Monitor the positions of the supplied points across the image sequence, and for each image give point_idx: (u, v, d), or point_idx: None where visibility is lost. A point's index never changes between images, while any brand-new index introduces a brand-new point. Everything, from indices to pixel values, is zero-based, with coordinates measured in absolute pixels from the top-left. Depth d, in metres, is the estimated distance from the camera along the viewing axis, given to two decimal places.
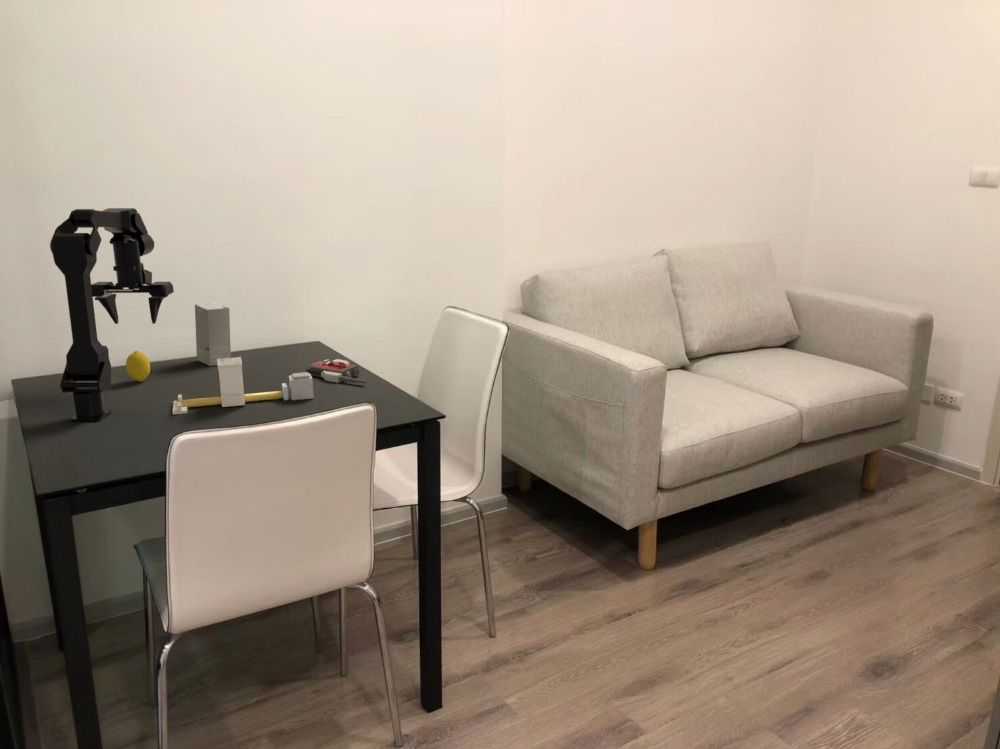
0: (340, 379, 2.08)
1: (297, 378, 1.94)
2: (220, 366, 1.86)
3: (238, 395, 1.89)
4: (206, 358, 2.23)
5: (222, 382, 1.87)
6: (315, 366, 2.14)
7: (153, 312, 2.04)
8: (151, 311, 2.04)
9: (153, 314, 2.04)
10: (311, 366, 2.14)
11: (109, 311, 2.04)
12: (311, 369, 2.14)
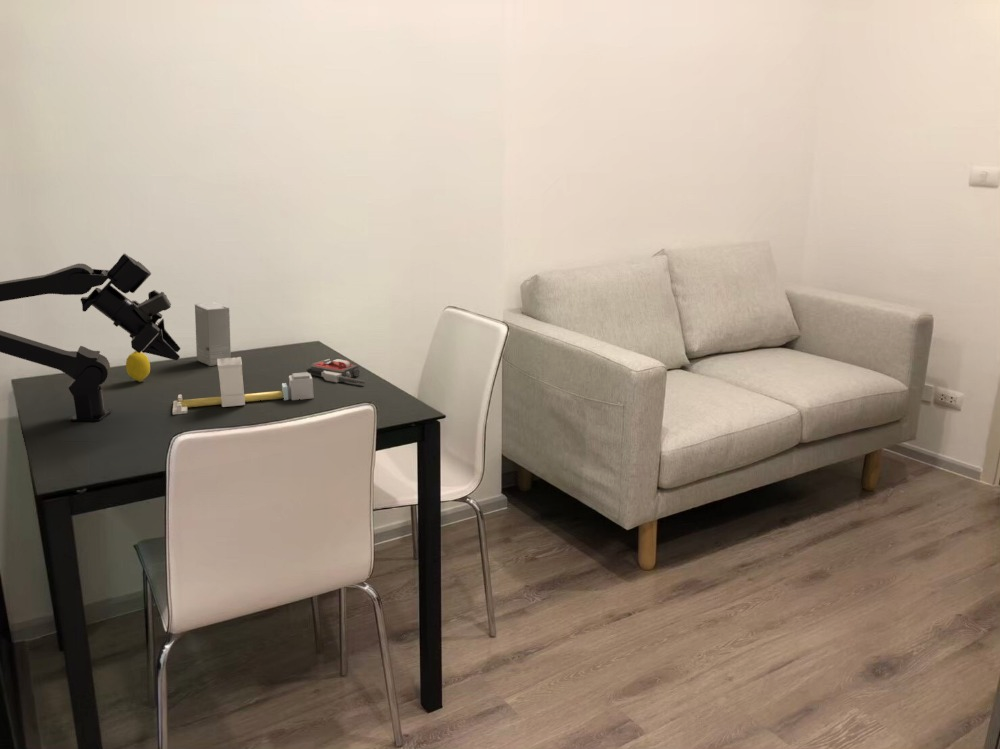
0: (340, 379, 2.08)
1: (297, 378, 1.94)
2: (220, 366, 1.86)
3: (238, 395, 1.89)
4: (206, 358, 2.23)
5: (222, 382, 1.87)
6: (316, 366, 2.14)
7: None
8: None
9: None
10: (312, 366, 2.15)
11: None
12: (312, 369, 2.15)
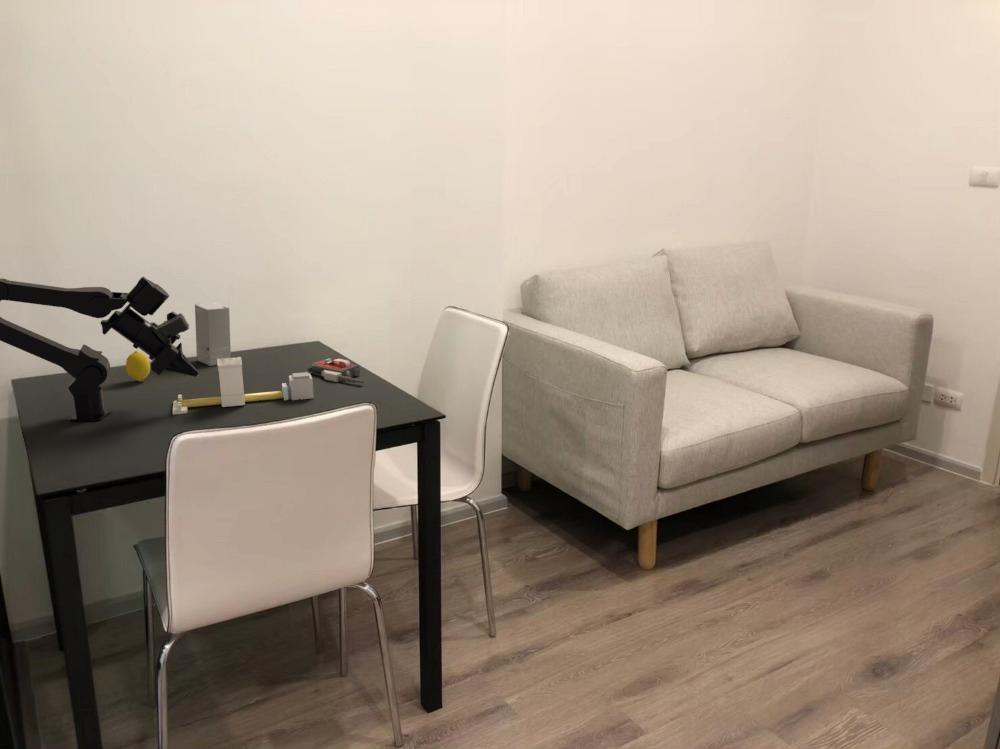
0: (339, 378, 2.09)
1: (297, 378, 1.94)
2: (220, 366, 1.86)
3: (238, 395, 1.89)
4: (206, 358, 2.23)
5: (222, 382, 1.87)
6: (316, 365, 2.15)
7: None
8: None
9: None
10: (313, 365, 2.15)
11: None
12: (313, 368, 2.15)
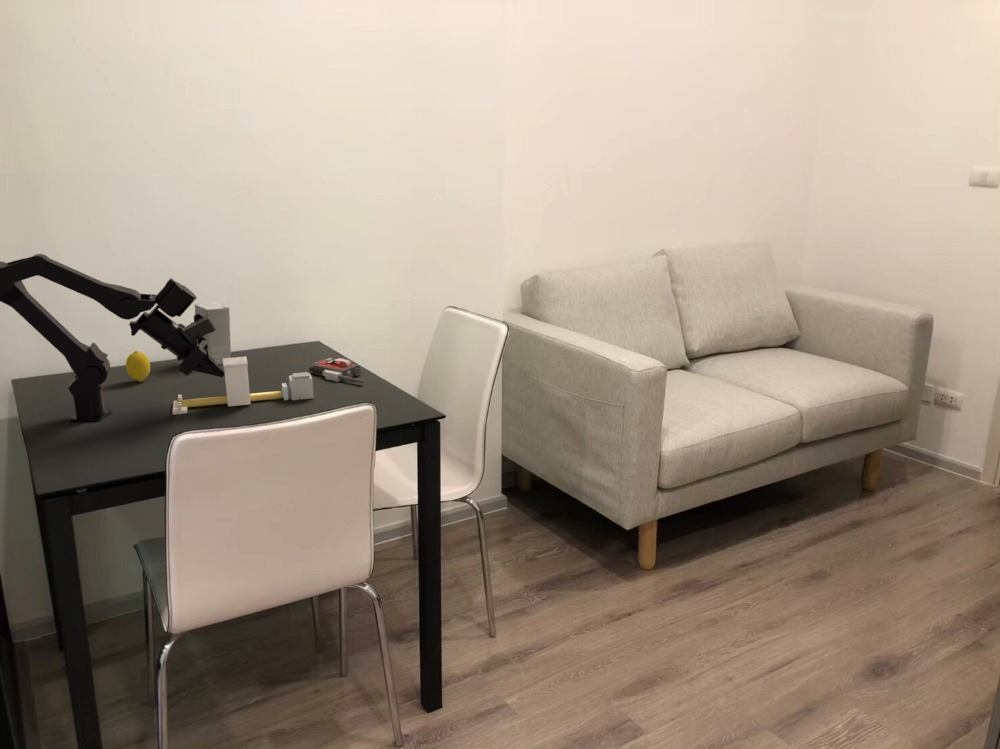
0: (340, 378, 2.09)
1: (297, 378, 1.94)
2: (226, 366, 1.87)
3: (244, 394, 1.90)
4: None
5: (227, 381, 1.88)
6: (317, 364, 2.15)
7: None
8: None
9: None
10: (314, 364, 2.16)
11: None
12: (314, 367, 2.16)
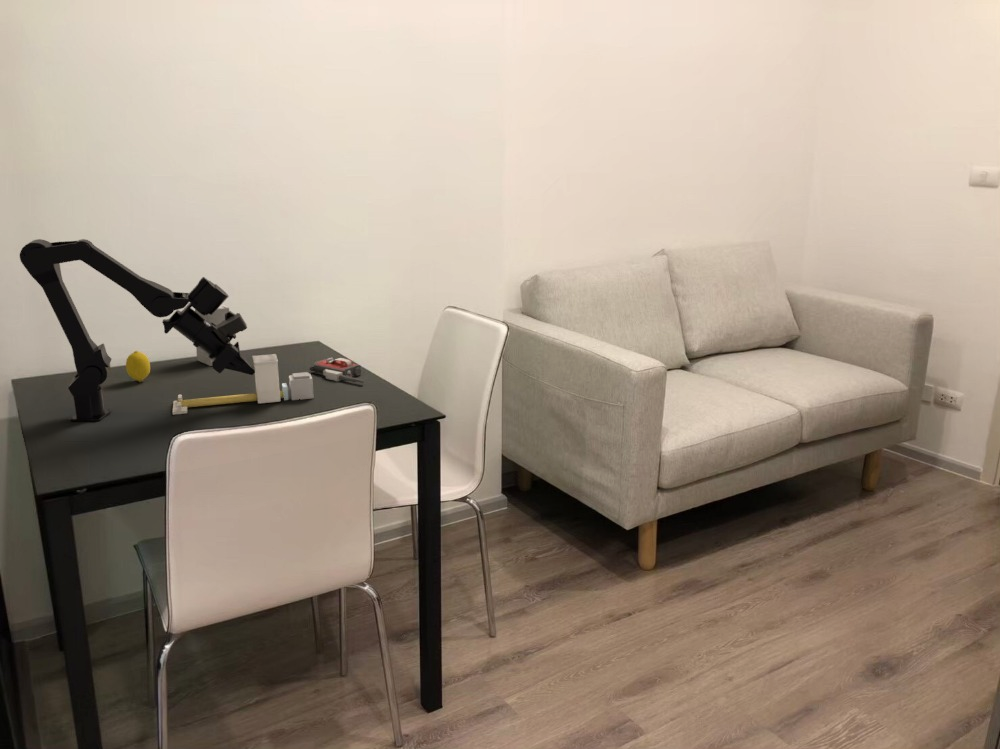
0: (340, 378, 2.09)
1: (297, 378, 1.94)
2: (256, 363, 1.89)
3: (274, 392, 1.92)
4: (206, 358, 2.23)
5: (258, 378, 1.90)
6: (318, 364, 2.16)
7: None
8: None
9: None
10: (315, 364, 2.16)
11: None
12: (314, 367, 2.16)
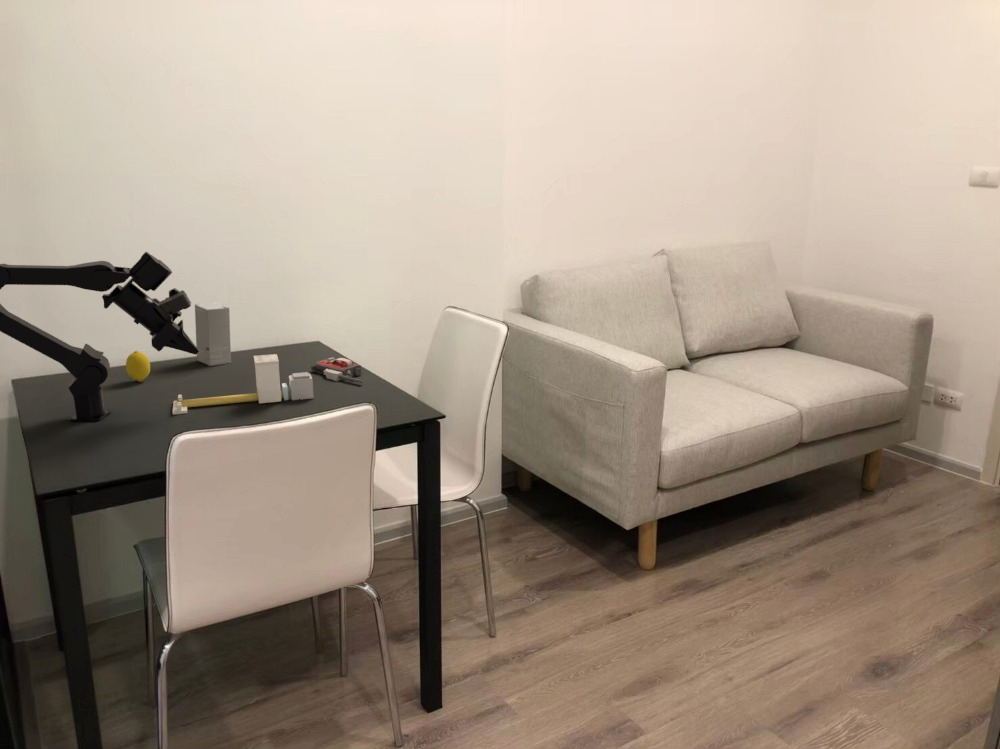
0: (339, 378, 2.10)
1: (297, 378, 1.94)
2: (257, 363, 1.89)
3: (275, 392, 1.92)
4: (206, 358, 2.23)
5: (259, 378, 1.90)
6: (319, 363, 2.17)
7: None
8: None
9: None
10: (316, 363, 2.17)
11: None
12: (316, 366, 2.17)
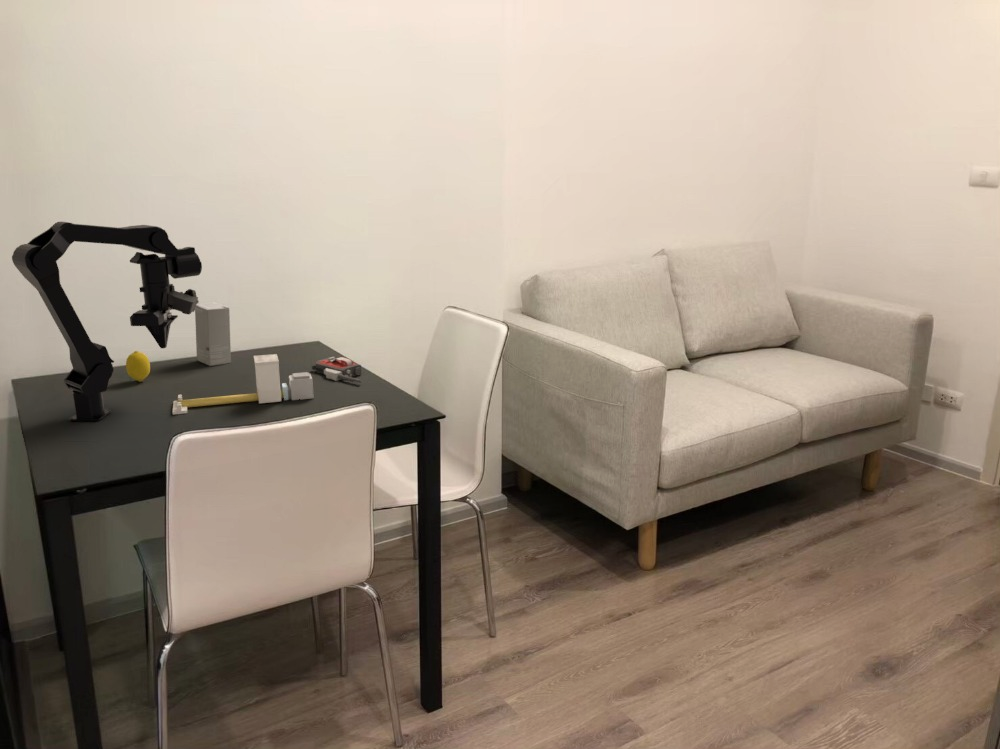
0: (339, 377, 2.10)
1: (297, 378, 1.94)
2: (257, 363, 1.89)
3: (275, 392, 1.92)
4: (206, 358, 2.23)
5: (259, 378, 1.90)
6: (320, 363, 2.17)
7: None
8: None
9: None
10: (316, 363, 2.17)
11: None
12: (316, 366, 2.17)
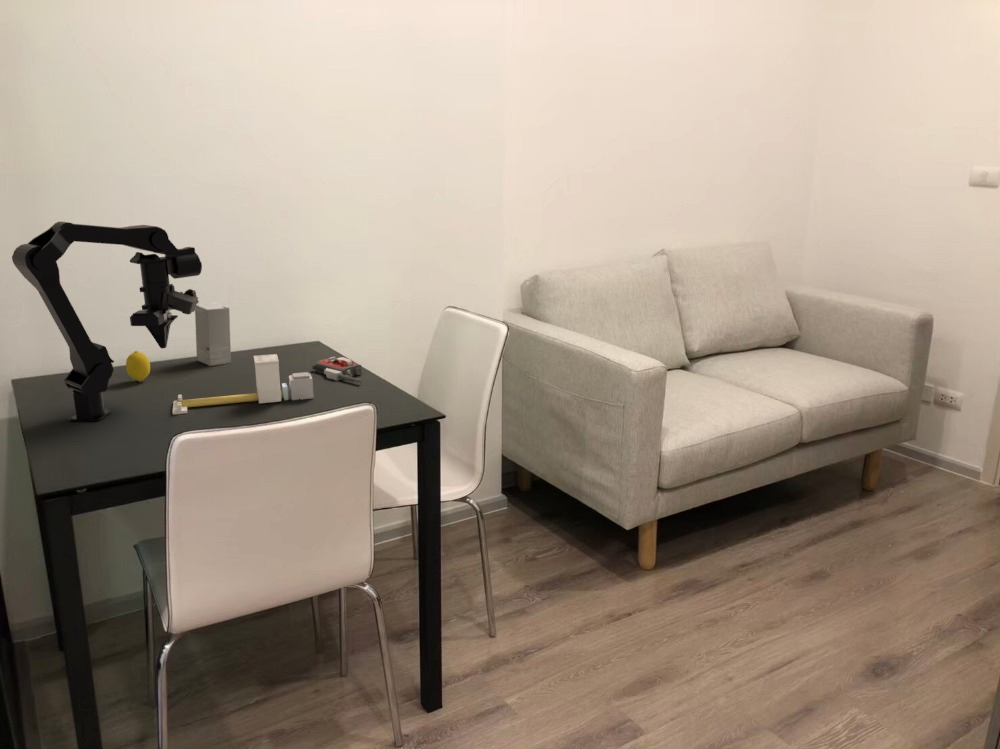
0: (339, 377, 2.10)
1: (297, 378, 1.94)
2: (257, 363, 1.89)
3: (275, 392, 1.92)
4: (206, 358, 2.23)
5: (259, 378, 1.90)
6: (320, 363, 2.17)
7: None
8: None
9: None
10: (317, 363, 2.18)
11: None
12: (317, 366, 2.18)
